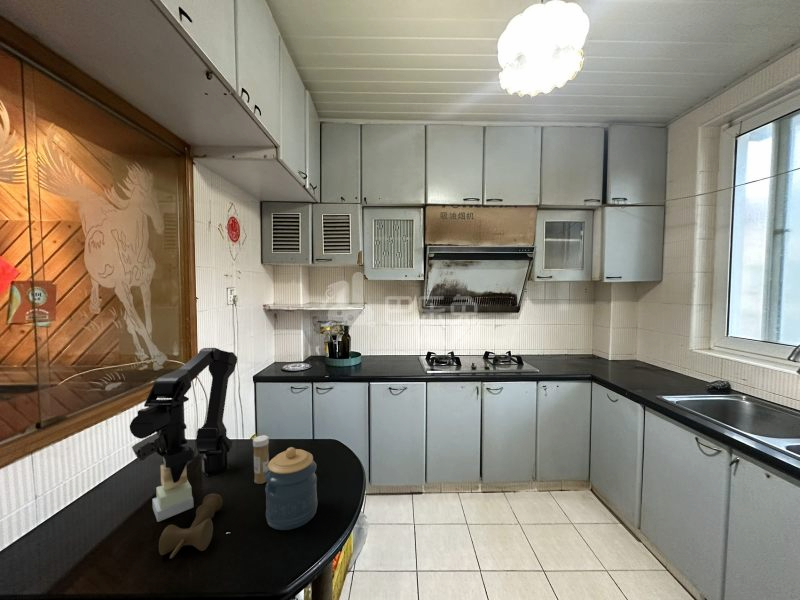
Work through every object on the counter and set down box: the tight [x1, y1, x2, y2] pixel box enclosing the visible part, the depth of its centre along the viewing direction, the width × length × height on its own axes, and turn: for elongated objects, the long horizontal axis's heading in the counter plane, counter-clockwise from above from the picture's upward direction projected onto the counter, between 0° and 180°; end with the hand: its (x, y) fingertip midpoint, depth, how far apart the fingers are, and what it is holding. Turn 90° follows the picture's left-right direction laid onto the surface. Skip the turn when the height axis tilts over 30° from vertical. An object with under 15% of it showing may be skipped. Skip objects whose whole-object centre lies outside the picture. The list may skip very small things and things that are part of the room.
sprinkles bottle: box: [252, 434, 270, 485], centre depth 101 cm, size 5×5×14 cm
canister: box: [264, 446, 318, 531], centre depth 85 cm, size 13×13×18 cm
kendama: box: [158, 492, 223, 560], centre depth 78 cm, size 6×10×20 cm
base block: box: [151, 496, 195, 523], centre depth 89 cm, size 8×8×3 cm
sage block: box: [155, 479, 193, 509], centre depth 89 cm, size 7×7×3 cm
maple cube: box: [160, 463, 188, 490], centre depth 89 cm, size 5×5×5 cm
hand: (173, 478), depth 89 cm, fingers closed on maple cube, 5 cm apart
